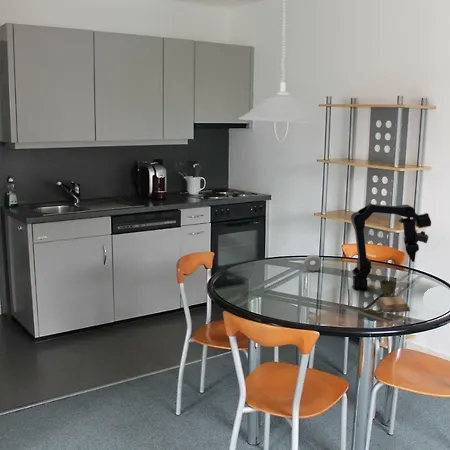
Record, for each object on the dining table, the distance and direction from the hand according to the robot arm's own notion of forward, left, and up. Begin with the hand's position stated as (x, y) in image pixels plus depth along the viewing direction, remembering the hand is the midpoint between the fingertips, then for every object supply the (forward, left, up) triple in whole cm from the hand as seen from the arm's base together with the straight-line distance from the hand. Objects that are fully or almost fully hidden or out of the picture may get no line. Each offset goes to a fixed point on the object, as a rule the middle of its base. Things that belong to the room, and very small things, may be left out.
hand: (412, 259), depth 296 cm
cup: (-17, -14, -15) cm, 27 cm away
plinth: (-19, -27, -14) cm, 36 cm away
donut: (-45, +34, -15) cm, 58 cm away
